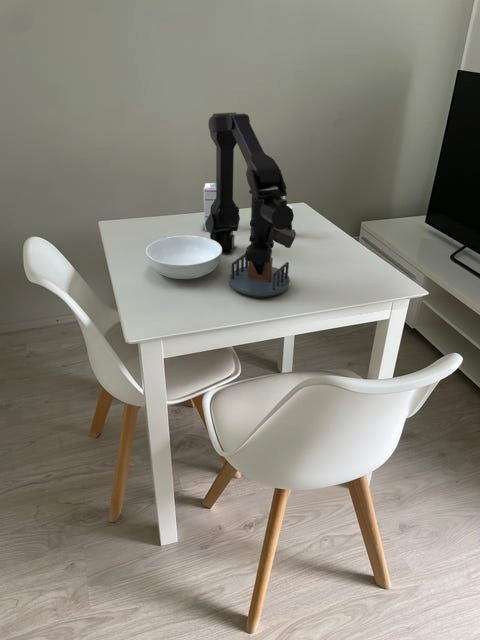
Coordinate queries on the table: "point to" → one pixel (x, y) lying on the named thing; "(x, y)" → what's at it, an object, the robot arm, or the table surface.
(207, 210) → the syrup box
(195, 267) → the serving bowl
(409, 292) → the table surface
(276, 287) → the drying rack
